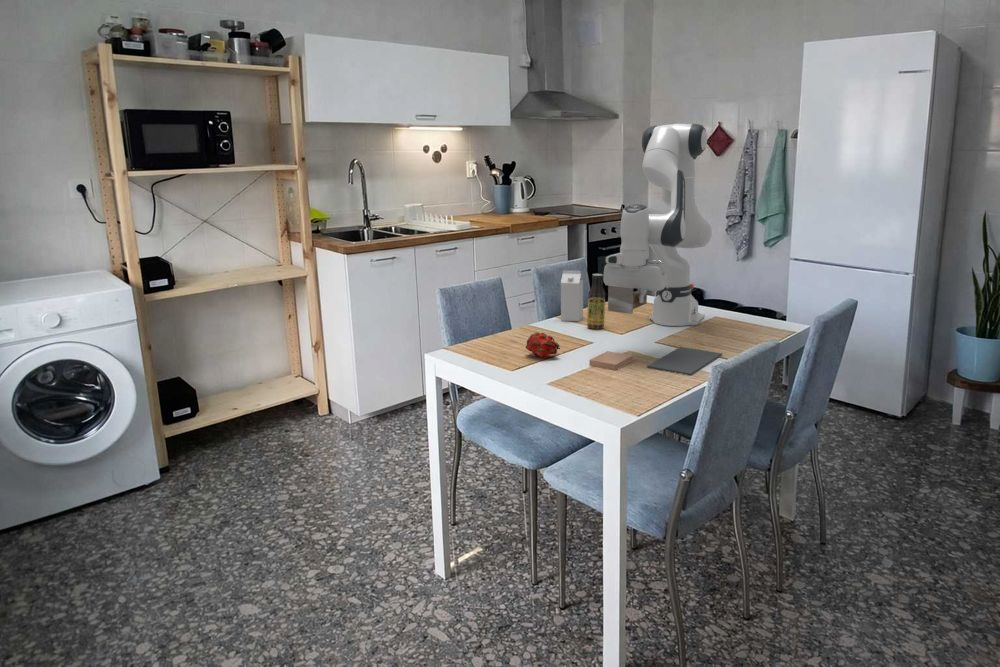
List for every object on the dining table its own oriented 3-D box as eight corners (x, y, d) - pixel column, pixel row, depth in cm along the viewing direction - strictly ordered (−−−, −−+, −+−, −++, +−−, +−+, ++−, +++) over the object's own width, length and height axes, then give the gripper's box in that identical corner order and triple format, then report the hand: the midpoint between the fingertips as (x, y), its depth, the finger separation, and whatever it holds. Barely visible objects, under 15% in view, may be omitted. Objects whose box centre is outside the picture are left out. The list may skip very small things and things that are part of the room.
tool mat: (680, 348, 230) (680, 346, 230) (722, 355, 221) (722, 353, 221) (646, 367, 212) (646, 365, 211) (690, 375, 203) (690, 373, 203)
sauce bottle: (586, 329, 256) (587, 276, 251) (587, 325, 262) (587, 272, 257) (605, 329, 255) (605, 275, 250) (605, 325, 261) (605, 272, 256)
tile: (607, 351, 223) (589, 359, 215) (632, 355, 218) (615, 364, 210) (607, 357, 224) (589, 366, 215) (632, 362, 218) (615, 371, 210)
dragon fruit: (526, 357, 231) (557, 367, 225) (516, 348, 224) (548, 359, 218) (536, 334, 233) (567, 344, 227) (526, 324, 225) (559, 334, 219)
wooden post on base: (631, 301, 229) (631, 277, 227) (653, 304, 224) (654, 279, 222) (608, 310, 218) (608, 285, 216) (631, 314, 213) (631, 288, 211)
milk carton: (565, 316, 277) (564, 268, 272) (583, 317, 274) (583, 269, 269) (561, 321, 270) (560, 272, 265) (579, 321, 268) (579, 272, 263)
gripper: (670, 259, 214) (668, 303, 218) (611, 254, 227) (610, 296, 230) (660, 262, 210) (659, 307, 213) (601, 257, 222) (600, 300, 226)
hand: (633, 301), depth 222 cm, fingers closed on wooden post on base, 3 cm apart
